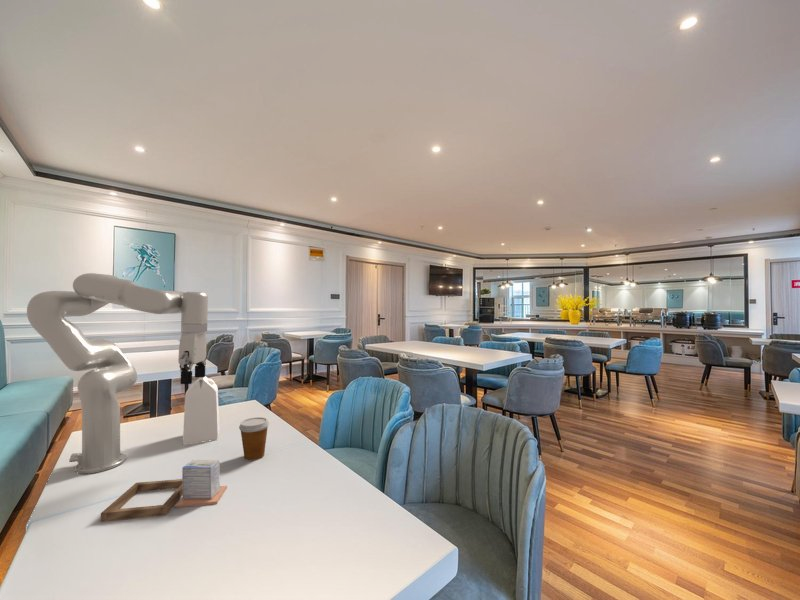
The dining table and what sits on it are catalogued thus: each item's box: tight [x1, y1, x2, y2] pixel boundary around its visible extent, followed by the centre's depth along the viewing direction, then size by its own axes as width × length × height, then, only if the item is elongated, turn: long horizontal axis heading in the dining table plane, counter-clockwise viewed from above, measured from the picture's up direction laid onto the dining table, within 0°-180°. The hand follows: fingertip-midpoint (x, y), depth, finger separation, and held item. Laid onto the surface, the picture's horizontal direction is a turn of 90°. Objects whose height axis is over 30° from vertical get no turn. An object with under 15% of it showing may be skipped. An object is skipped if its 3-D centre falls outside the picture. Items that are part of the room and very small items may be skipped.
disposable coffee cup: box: [238, 416, 270, 461], centre depth 119 cm, size 10×10×12 cm
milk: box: [182, 375, 220, 445], centre depth 137 cm, size 12×12×26 cm
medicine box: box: [181, 459, 221, 499], centre depth 94 cm, size 8×4×9 cm, turn 89°
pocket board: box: [100, 478, 183, 522], centre depth 92 cm, size 14×14×2 cm
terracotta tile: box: [175, 485, 228, 508], centre depth 94 cm, size 10×8×1 cm
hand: (193, 380), depth 116 cm, fingers open, 9 cm apart
